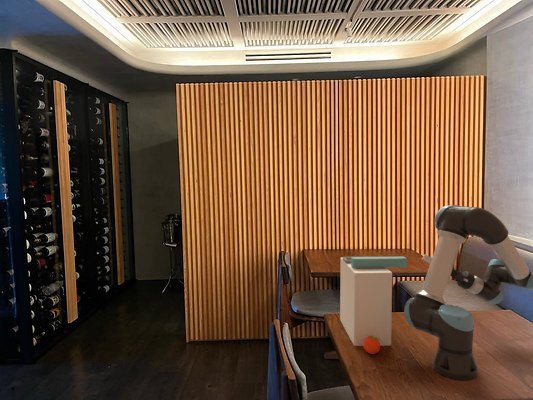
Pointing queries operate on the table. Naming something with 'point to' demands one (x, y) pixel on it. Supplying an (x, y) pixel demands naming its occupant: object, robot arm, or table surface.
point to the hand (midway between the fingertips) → (429, 259)
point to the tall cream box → (365, 302)
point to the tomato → (371, 344)
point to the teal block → (378, 262)
